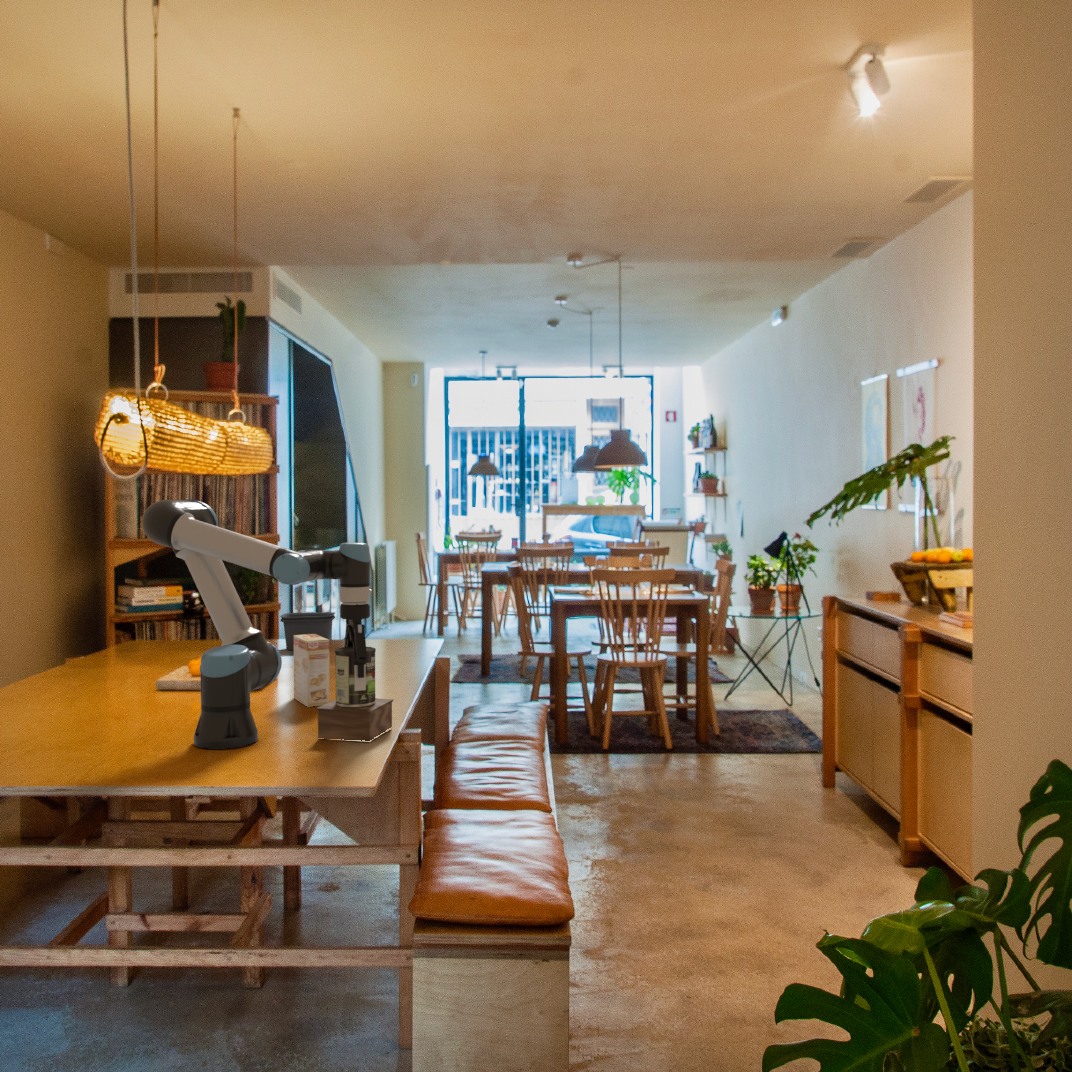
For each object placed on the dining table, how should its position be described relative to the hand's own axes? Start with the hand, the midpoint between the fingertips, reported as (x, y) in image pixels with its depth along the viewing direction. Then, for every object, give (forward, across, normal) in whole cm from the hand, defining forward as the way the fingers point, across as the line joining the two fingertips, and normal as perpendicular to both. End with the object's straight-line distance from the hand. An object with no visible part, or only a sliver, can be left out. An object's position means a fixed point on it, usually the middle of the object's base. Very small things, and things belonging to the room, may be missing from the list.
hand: (355, 685), depth 238 cm
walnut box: (+13, 0, 0) cm, 13 cm away
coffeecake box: (+13, +44, +6) cm, 46 cm away
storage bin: (+13, +148, -6) cm, 149 cm away
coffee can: (+5, 0, 0) cm, 5 cm away
